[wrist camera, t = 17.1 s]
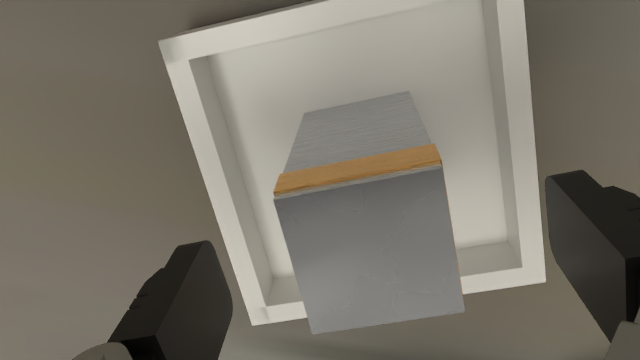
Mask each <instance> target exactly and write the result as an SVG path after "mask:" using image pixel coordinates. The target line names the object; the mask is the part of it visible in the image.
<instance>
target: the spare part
mask: <svg viewBox="0 0 640 360" xmlns="http://www.w3.org/2000/svg"><path fill="white" fill-rule="evenodd" d="M273 193H274V199H273V201H274V204H275V208H276V211H277V215H278V218H279V222H280V225H281V228H282V232H283V235H284V239H285V242H286V246H287V249H288V253H289V256H290V259H291V263H292V266H293V270H294V273H295V277H296V280H297V283H298V287H299V290H300V294H301V297H302V301H303V304H304V307H305V311H306V314H307V318H308V321H309V325H310V328H311V332H312V335H314V334H321V333H327V332H334V331H341V330H347V329H354V328H361V327H368V326H374V325H381V324H388V323H394V322H401V321H408V320H414V319H421V318H428V317H435V316H441V315H448V314H455V313H461V312H465V308H464V299H463V292H462V286H461V280H460V273H459V267H458V261H457V254H456V248H455V241H454V235H453V229H452V222H451V216H450V210H449V203H448V197H447V190H446V184H445V178H444V171H443V165H442V159H441V157H440V155H439V152H438V150H437V148H436V146H435V143H434V144H432V143H431V140H430V138H429V136H428V133H427V131H426V129H425V126H424V124H423V122H422V120H421V117H420V115H419V113H418V110H417V108H416V106H415V103H414V101H413V99H412V96H411V94H410V92H409V91H405V92H401V93H396V94H391V95H387V96H382V97H377V98H373V99H368V100H363V101H358V102H354V103H349V104H344V105H340V106H335V107H330V108H326V109H321V110H316V111H312V112H307V113H304V115H303V118H302V121H301V124H300V126H299V129H298V132H297V135H296V138H295V140H294V143H293V146H292V149H291V152H290V154H289V157H288V160H287V163H286V166H285V168H284V171H283V173H281V174H280V175H279V177H278V180H277V183H276V185H275V188H274V191H273Z"/></svg>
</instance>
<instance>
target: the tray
mask: <svg viewBox="0 0 640 360" xmlns="http://www.w3.org/2000/svg"><path fill="white" fill-rule="evenodd" d="M158 43H159V46H160V49H161V52H162V56H163V59H164V62H165V65H166V68H167V71H168V74H169V77H170V80H171V83H172V86H173V89H174V92H175V95H176V98H177V101H178V104H179V107H180V110H181V113H182V116H183V119H184V122H185V125H186V128H187V131H188V134H189V137H190V140H191V143H192V146H193V149H194V152H195V155H196V158H197V161H198V164H199V167H200V170H201V173H202V176H203V179H204V182H205V185H206V188H207V191H208V194H209V197H210V200H211V203H212V206H213V209H214V212H215V215H216V218H217V221H218V224H219V227H220V230H221V233H222V236H223V239H224V242H225V245H226V248H227V251H228V254H229V257H230V260H231V263H232V266H233V269H234V272H235V275H236V278H237V281H238V284H239V287H240V290H241V293H242V296H243V299H244V302H245V305H246V308H247V311H248V314H249V317H250V320H251V323H252V326H254V325H261V324H268V323H274V322H281V321H288V320H295V319H301V318H307V314H306V311H305V307H304V304H303V301H302V297H301V294H300V290H299V287H298V283H297V280H296V277H295V273H294V270H293V266H292V263H291V259H290V256H289V253H288V249H287V246H286V242H285V239H284V235H283V232H282V228H281V225H280V222H279V218H278V215H277V211H276V208H275V204H274V201H273V199H274V193H273V191H274V188H275V185H276V183H277V180H278V177H279V175H280V174H281V173H283V171H284V168H285V166H286V163H287V160H288V157H289V154H290V152H291V149H292V146H293V143H294V140H295V138H296V135H297V132H298V129H299V126H300V124H301V121H302V118H303V115H304V113H307V112H312V111H316V110H321V109H326V108H330V107H335V106H340V105H344V104H349V103H354V102H358V101H363V100H368V99H373V98H377V97H382V96H387V95H391V94H396V93H401V92H405V91H409V92H410V94H411V96H412V99H413V101H414V103H415V106H416V108H417V110H418V113H419V115H420V117H421V120H422V122H423V124H424V126H425V129H426V131H427V133H428V136H429V138H430V140H431V143H432V144H434V143H435V146H436V148H437V150H438V152H439V155H440V157H441V159H442V165H443V171H444V178H445V184H446V190H447V197H448V203H449V210H450V216H451V222H452V229H453V235H454V241H455V248H456V254H457V261H458V267H459V273H460V280H461V286H462V292H463V294H469V293H476V292H483V291H489V290H496V289H503V288H510V287H516V286H523V285H530V284H536V283H543V282H546V275H545V262H544V250H543V237H542V225H541V212H540V199H539V187H538V174H537V161H536V149H535V136H534V124H533V111H532V98H531V86H530V73H529V61H528V48H527V35H526V23H525V10H524V0H313V1H309V2H304V3H300V4H296V5H292V6H288V7H283V8H279V9H275V10H271V11H267V12H262V13H258V14H254V15H250V16H246V17H241V18H237V19H233V20H229V21H225V22H220V23H216V24H212V25H208V26H204V27H199V28H195V29H191V30H187V31H184V32H181V33H178V34H175V35H173V36H170V37H167V38H165V39H162V40H159V41H158Z"/></svg>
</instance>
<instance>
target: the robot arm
mask: <svg viewBox="0 0 640 360" xmlns="http://www.w3.org/2000/svg"><path fill="white" fill-rule="evenodd" d="M545 193H546V205H547V217H548V229H549V239H550V245H551V249H552V252H553V255H554V258H555V260H556V262H557V264H558V265H559V267H560V268H561V270H562V271H563V273H564V274H565V276H566V277H567V279H568V280H569V282H570V283H571V285H572V286H573V288H574V289H575V291H576V292H577V294H578V295H579V297H580V298H581V300H582V301H583V303H584V304H585V306H586V307H587V309H588V310H589V312H590V313H591V315H592V316H593V318H594V319H595V320H596V322H597V323H598V325H599V326H600V328H601V329H602V331H603V332H604V334H605V335H606V337H607V338H608V340H609V341H610V343H611V345H610V347H609V349H608V352H607V354H606V356H605V359H604V360H640V198H639V197H638V196H637V195H636V194H634V193H631V192H628V191H625V190H623V189H620V188H617V187H615V186H610V187H604V188H603V187H602V186H600V185H599V184H598V183H597V182H596V181H595V180H594V179H593V178H592V177H591V176H590V175H588V174H587V173H586V172H585V171H584V170H577V171H572V172H567V173H562V174H556V175H551V176H547V177H546V180H545ZM232 311H233V306H232V297H231V293H230V290H229V287H228V285H227V282H226V279H225V276H224V274H223V271H222V268H221V266H220V263H219V260H218V257H217V255H216V252H215V249H214V247H213V245H212V244H211V242H210V241H207V240H206V241H201V242H195V243H190V244H185V245H180V246H178V247H177V248H176V249H175V251H174V252H173V254H172V256H171V257H170V259H169V261H168V262H167V264H166V266H165V267H164V268H161V269H160V270H159V271H157V272H156V273H155V274H154V275H153V276H152V277H151V278H149V279H148V280H147V281H146V282H145V283H144V285H143V286H142V288H141V290H140V291H139V293H138V294H137V298H136V299H134V301H133V302H132V304H131V305H130V307H129V310H127V312H126V313H125V315H124V316H123V318H122V320H121V321H120V323H119V324H118V326H117V327H116V329H115V331H114V332H113V334H112V335H111V337H110V338H109V340H108V342H107V343H104V344H100V345H97V346H95V347H92V348H90V349H88V350H86V351H84V352H82V353H81V354H79V355H77V356H76V357H75V358H73V359H72V360H218V357H219V354H220V351H221V348H222V345H223V342H224V339H225V336H226V333H227V330H228V327H229V324H230V321H231V318H232Z"/></svg>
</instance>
